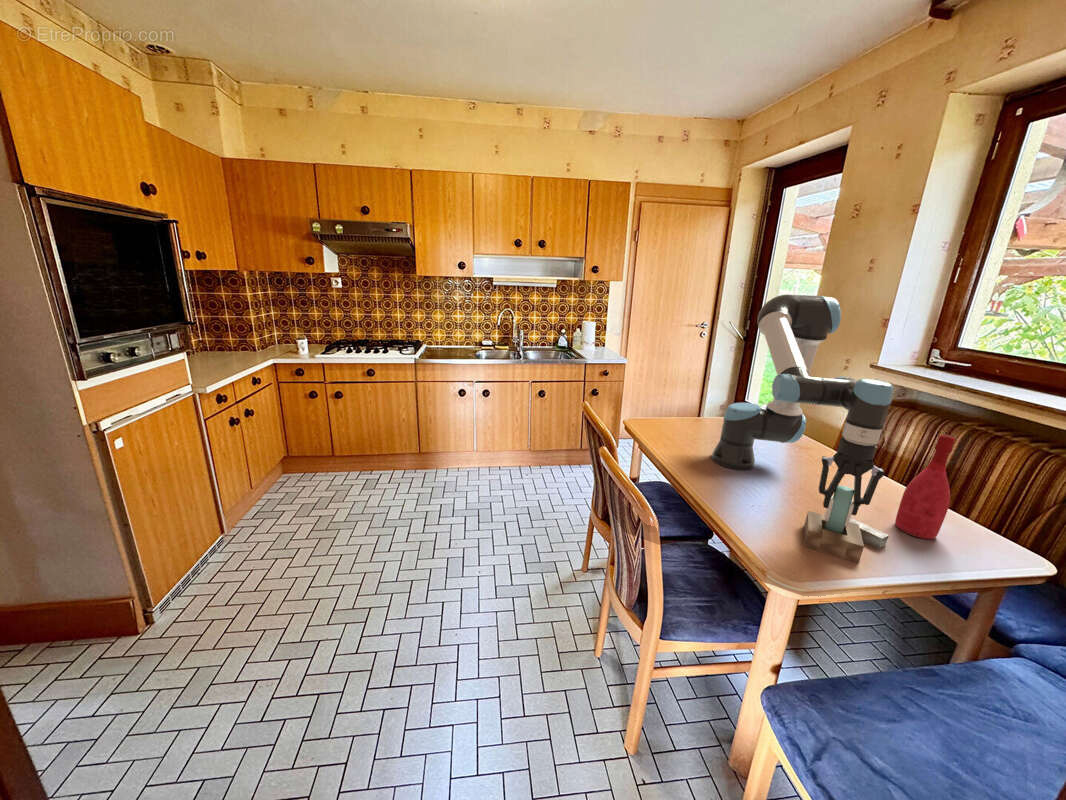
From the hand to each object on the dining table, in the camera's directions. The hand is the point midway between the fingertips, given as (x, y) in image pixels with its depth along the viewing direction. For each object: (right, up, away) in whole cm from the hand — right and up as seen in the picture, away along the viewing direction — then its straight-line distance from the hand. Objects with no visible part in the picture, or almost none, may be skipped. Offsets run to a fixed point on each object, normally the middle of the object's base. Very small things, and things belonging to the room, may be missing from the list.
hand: (835, 521), depth 115 cm
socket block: (0, -7, +2) cm, 7 cm away
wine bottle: (+30, -6, +10) cm, 33 cm away
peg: (0, -4, +1) cm, 4 cm away
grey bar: (+11, -6, +6) cm, 14 cm away
